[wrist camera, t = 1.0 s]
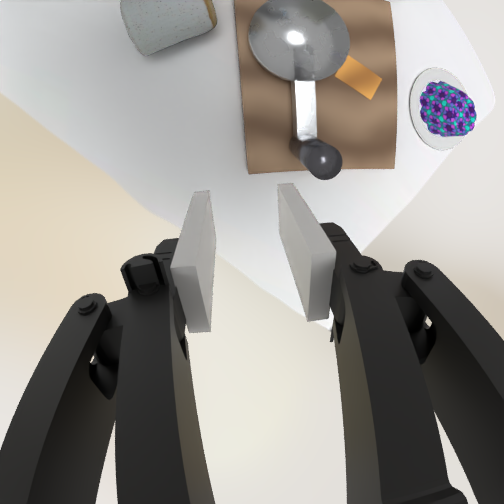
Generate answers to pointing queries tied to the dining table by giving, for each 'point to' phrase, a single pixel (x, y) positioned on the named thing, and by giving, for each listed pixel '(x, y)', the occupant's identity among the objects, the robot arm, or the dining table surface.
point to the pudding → (441, 109)
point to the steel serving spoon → (302, 67)
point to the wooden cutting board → (326, 95)
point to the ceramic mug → (166, 21)
